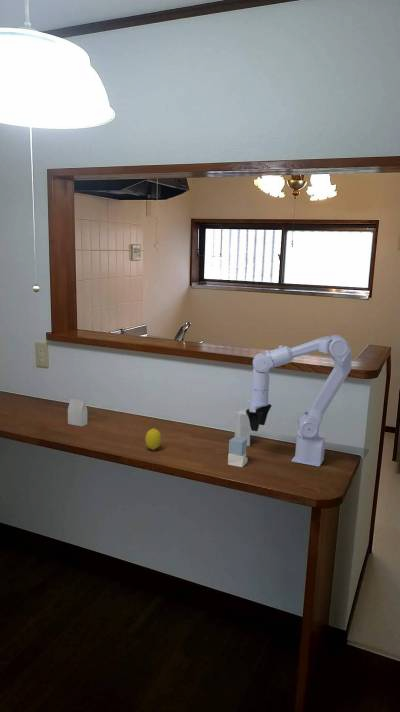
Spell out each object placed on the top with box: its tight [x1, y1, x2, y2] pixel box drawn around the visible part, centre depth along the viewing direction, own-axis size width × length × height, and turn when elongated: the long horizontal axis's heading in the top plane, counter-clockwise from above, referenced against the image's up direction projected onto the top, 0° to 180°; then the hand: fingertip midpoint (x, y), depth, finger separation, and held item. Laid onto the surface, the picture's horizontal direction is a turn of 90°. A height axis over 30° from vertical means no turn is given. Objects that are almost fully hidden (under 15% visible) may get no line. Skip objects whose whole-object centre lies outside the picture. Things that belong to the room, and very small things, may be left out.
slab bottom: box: [227, 456, 248, 468], centre depth 171 cm, size 5×5×2 cm
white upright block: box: [67, 398, 88, 427], centre depth 206 cm, size 4×7×10 cm, turn 66°
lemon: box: [145, 427, 162, 451], centre depth 180 cm, size 6×6×8 cm
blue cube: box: [228, 436, 248, 456], centre depth 170 cm, size 4×4×4 cm
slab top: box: [227, 452, 247, 462], centre depth 170 cm, size 5×5×2 cm
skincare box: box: [234, 409, 251, 447], centre depth 189 cm, size 6×4×12 cm
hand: (257, 427), depth 176 cm, fingers open, 7 cm apart
